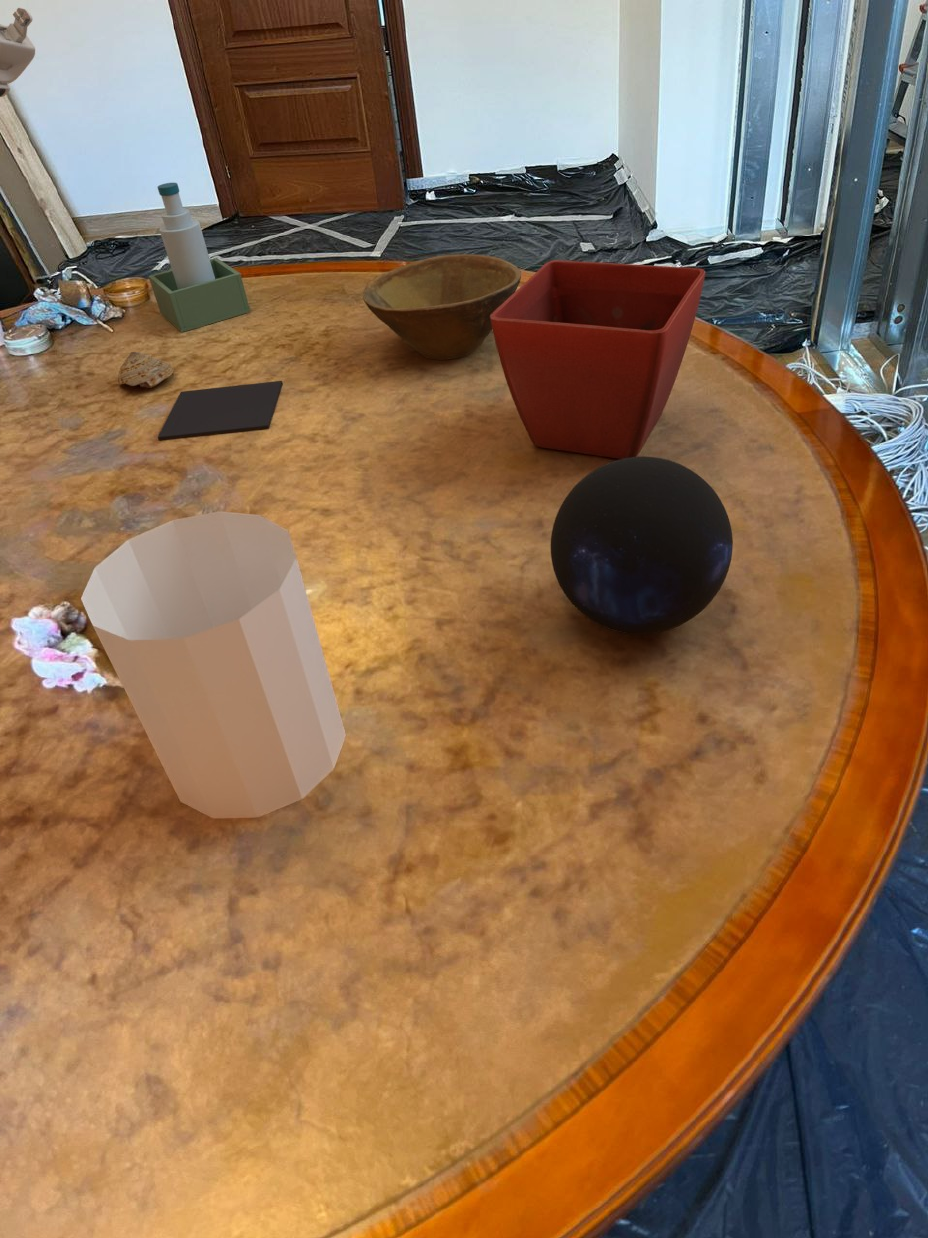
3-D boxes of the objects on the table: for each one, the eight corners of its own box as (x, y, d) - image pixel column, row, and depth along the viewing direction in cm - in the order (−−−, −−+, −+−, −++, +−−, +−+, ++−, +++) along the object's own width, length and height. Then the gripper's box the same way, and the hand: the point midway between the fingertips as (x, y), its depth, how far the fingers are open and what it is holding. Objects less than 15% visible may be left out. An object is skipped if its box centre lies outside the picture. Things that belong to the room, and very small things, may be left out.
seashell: (131, 386, 124) (103, 353, 126) (137, 414, 128) (111, 381, 131) (182, 366, 127) (155, 334, 130) (186, 395, 132) (160, 363, 135)
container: (187, 694, 75) (114, 524, 64) (349, 674, 75) (304, 500, 64) (153, 829, 64) (56, 653, 53) (342, 807, 64) (286, 625, 52)
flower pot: (697, 403, 107) (708, 265, 96) (656, 480, 94) (664, 331, 84) (553, 388, 114) (549, 258, 104) (497, 458, 102) (485, 318, 91)
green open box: (181, 332, 145) (168, 293, 141) (160, 313, 153) (148, 275, 149) (250, 311, 149) (240, 273, 145) (226, 294, 158) (216, 257, 154)
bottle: (181, 318, 149) (142, 192, 136) (189, 304, 154) (152, 182, 141) (218, 313, 148) (182, 187, 135) (225, 300, 153) (191, 177, 140)
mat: (158, 440, 114) (157, 437, 114) (181, 394, 125) (180, 391, 125) (268, 428, 114) (268, 425, 113) (282, 383, 124) (281, 380, 124)
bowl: (382, 324, 138) (372, 261, 132) (523, 312, 136) (520, 247, 130) (365, 383, 122) (352, 313, 115) (525, 371, 119) (521, 299, 113)
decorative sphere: (548, 668, 73) (541, 522, 64) (558, 564, 84) (553, 426, 75) (731, 672, 71) (752, 521, 61) (716, 564, 82) (731, 421, 72)
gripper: (-117, 40, 122) (-66, -31, 116) (-14, 60, 140) (36, -1, 134) (-86, 82, 124) (-34, 14, 118) (12, 96, 142) (62, 38, 136)
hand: (4, 6), depth 126 cm, fingers open, 8 cm apart
